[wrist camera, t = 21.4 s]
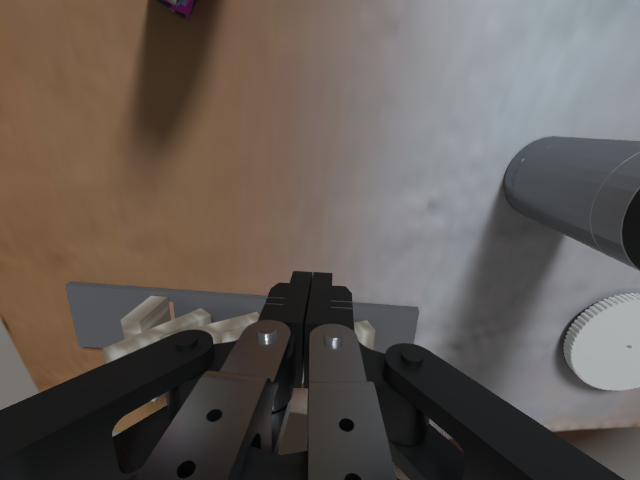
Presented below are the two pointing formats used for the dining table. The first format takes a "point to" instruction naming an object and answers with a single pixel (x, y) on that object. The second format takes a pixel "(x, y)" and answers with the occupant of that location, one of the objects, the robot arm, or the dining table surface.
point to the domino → (146, 317)
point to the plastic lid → (607, 344)
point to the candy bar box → (179, 6)
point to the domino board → (117, 301)
